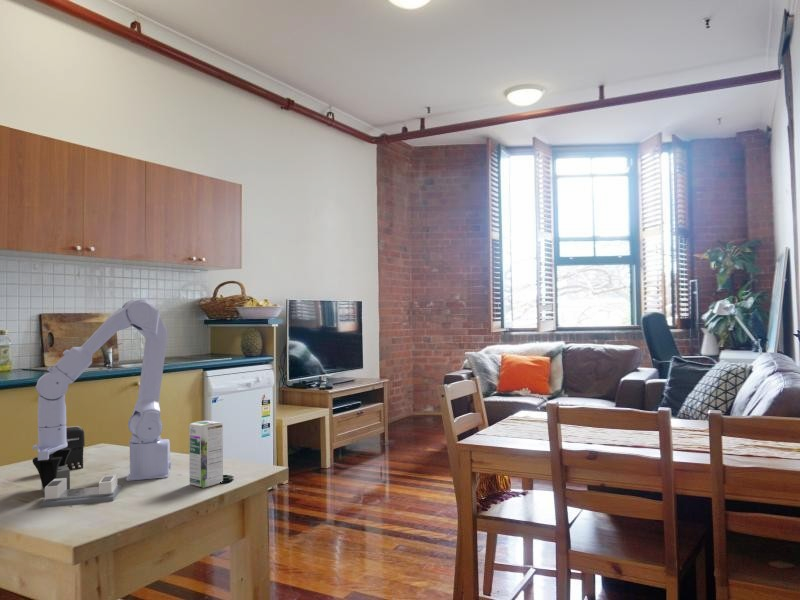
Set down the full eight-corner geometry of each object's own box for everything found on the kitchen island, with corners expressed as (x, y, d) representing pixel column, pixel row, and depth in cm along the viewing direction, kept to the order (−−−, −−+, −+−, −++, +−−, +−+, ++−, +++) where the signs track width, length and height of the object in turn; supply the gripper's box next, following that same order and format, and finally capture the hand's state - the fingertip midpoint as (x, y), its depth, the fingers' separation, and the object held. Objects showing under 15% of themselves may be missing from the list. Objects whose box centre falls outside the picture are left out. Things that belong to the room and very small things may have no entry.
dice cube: (45, 496, 135) (44, 473, 135) (41, 490, 139) (41, 469, 139) (70, 491, 138) (69, 469, 138) (66, 486, 142) (65, 465, 142)
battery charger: (56, 475, 153) (55, 430, 153) (52, 472, 156) (52, 428, 156) (86, 470, 157) (85, 426, 158) (82, 467, 160) (82, 424, 160)
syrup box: (188, 484, 142) (187, 423, 142) (209, 478, 147) (208, 419, 147) (203, 488, 139) (202, 425, 139) (224, 482, 143) (223, 421, 144)
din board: (120, 489, 139) (120, 483, 139) (113, 501, 130) (113, 494, 130) (53, 495, 135) (53, 489, 135) (40, 508, 127) (40, 501, 127)
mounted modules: (117, 484, 138) (117, 472, 138) (111, 493, 131) (111, 481, 131) (54, 490, 135) (54, 478, 135) (44, 499, 128) (44, 486, 128)
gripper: (42, 421, 145) (43, 477, 144) (21, 432, 131) (22, 495, 130) (74, 419, 147) (75, 475, 146) (58, 430, 133) (58, 492, 132)
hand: (52, 484), depth 139 cm, fingers closed on dice cube, 5 cm apart
